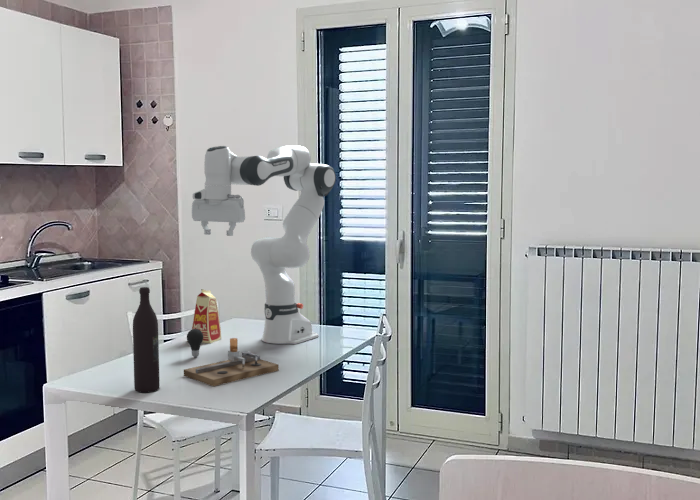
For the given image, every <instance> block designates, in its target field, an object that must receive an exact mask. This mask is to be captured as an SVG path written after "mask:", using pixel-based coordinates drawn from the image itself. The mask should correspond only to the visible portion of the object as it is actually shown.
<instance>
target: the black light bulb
mask: <svg viewBox="0 0 700 500" xmlns="http://www.w3.org/2000/svg"><path fill="white" fill-rule="evenodd" d="M186 341H187V343H188V344H189V347H190V350H191V356H192V357H193V358H194V359H196V358H198V357H199V356H200V350H201V349H200V348H201V345H202V344H203V343H202V341H203V333H202V332H201V331H200V330H199V329H192V328H191V329H190V330H189V331H188V332H187V334H186Z"/></svg>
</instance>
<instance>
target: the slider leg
mask: <svg viewBox="0 0 700 500" xmlns="http://www.w3.org/2000/svg"><path fill="white" fill-rule="evenodd" d="M238 340H239V339H238V338H237V337H230V338H229V350H227V351H228V352H227V353H228V354H227V357H228V358H227V360H229V361H233V362H235V361H239V360H240V361H242V367H245V358H242V356H241V355H240V351H239V349H238V346H239V345H238V344H239V343H238Z"/></svg>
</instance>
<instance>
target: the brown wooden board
mask: <svg viewBox="0 0 700 500" xmlns="http://www.w3.org/2000/svg"><path fill="white" fill-rule="evenodd" d="M226 362H230V361H229V360H228V359H226V360H222V361H217V362H212V363H208V364H202V365H200V366H195V367H189V368H185V369H183V377H184V378H185V377H186V378H189V379H191V380H194V381H197V382H199V383H202V384H206V385H208V386H211V387H216V386H221V385H225V384H228V383H233V382H237V381H241V380H245V379H250V378H254V377H258V376H261V375H266V374H271V373H273V372H278V371H279V369H280V368H279V363H275V362H272V361H268V360H266V359H265V360H264V359H261V358H260V360H257V364H255V361H252V362H247V363H245V367H242V364H239V365H234V366H230V367H225V368H221V369H216V370H212V371H208V372H203V373H199V374H197V373H196V369H198V368H203V367H207V366H212V365H217V364H221V363H226Z"/></svg>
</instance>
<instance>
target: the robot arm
mask: <svg viewBox="0 0 700 500" xmlns="http://www.w3.org/2000/svg"><path fill="white" fill-rule="evenodd" d="M311 160H312V158H311V154H310V151H309V150H308V149H307V148H306V147H305V146H301V145H296V144H295V145H293V144H292V145H284V146H278V147H275V148H273V149H272V150H270V151H269V152H268V153H267V156H266V157H264V156H261V155H251V156H238V155H237V154H234V152H232V151H231V150H230V148H229V147H228V146H226V145H218V146H211V147H208V149H206V151H205V155H204V165H203V168H204V176H205V182H204V188H203V189H201V190H199V191H195V192H193V193H192V199H193V201H192V204H191V218H192V220H193V221H194V222H201V223H200V226H202V229H203V234H204V235H205V236H206V235H207V236H209V235H211V233H212V232H211V229H210V228H209V226H208V225H209V222H210V223H211V222H212V223H214V222H215V223H216V222H217V223H228V226H229V227H228V230H226V232H225V235H226V236H229V237H232V236H234V229H235V228H236V226H237V223H238V224H239V223H244V221H245V220H246V211H245V205H244V203H245V201H244V198H243V197H242V196H241V195H240V194H232V185H236V186H237V185H240V186H241V185H244V186H245V185H248V186H249V185H250V186H262V185H264V184H265V183H266V182H268V180H269V179H271V178H273V177H283V181H284V184H285V186H286V187H287V188H288V190H289V189H290V190H292V191H295V192H296V191H297V192H298V191H300V194H299V198H298V199H297V200H296V201H295V202H294V204H293V205H292V207H291V208H290V210H289V211H288V213H286V216H285V218H284V219H283V222H282V227H283V230H284V234H283V236H281V237H269V236H268V237H267V236H266V237H262V238H258V239H256V240H255V241H254V242H253V243H252V245H251V248H250V254H251V257H252V260H253V261H254V262H255V263H256V265H257V266H258V267H259V269H260V272H261V274H262V277H263V281H264V286H265V287H264V289H265V290H264V291H265V303H264V316H265V317H264V318H265V319H264V327H263V332H262V337H261V341H262V342H264V343H268V344H277V345H278V344H279V345H280V344H283V345H284V344H291V345H292V344H294V345H296V344H300V343H304V342H306V341H309V340H314V339H315V338H318V337H319V334H318V333H317V332H315V331H313V326H312V323H311V320H309V318H307V317H305V316H304V315H303V314H302V313H300V311H299V309H300V310H302V309H303V303H299V302H297V303H296V295H295V293H296V292H295V291H296V285H295V281H294V280H293V279H292V278H291V277H290V276H289V274H288V273H287V271H286V269H299V268H303V267H305V266H306V265H307V264H308V262H309V260H310V255H311V254H310V253H311V251H310V248H309V245H308V243H307V241H308V237H309V235H310V233H311V232H312V230H313V228H314V227H315V225H316V224H317V222H318V220H319V218H320V216H321V213H322V212H323V210H324V206H325V199H324V197H326V196H328V195H329V194H330V192H331V190H332V189H333V187H334V186H335V184H336V180H337V178H336V176H337V175H336V172H335V169H334V167H332V166H330V165H328V164H324V163H314V162H313V163H311Z"/></svg>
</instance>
